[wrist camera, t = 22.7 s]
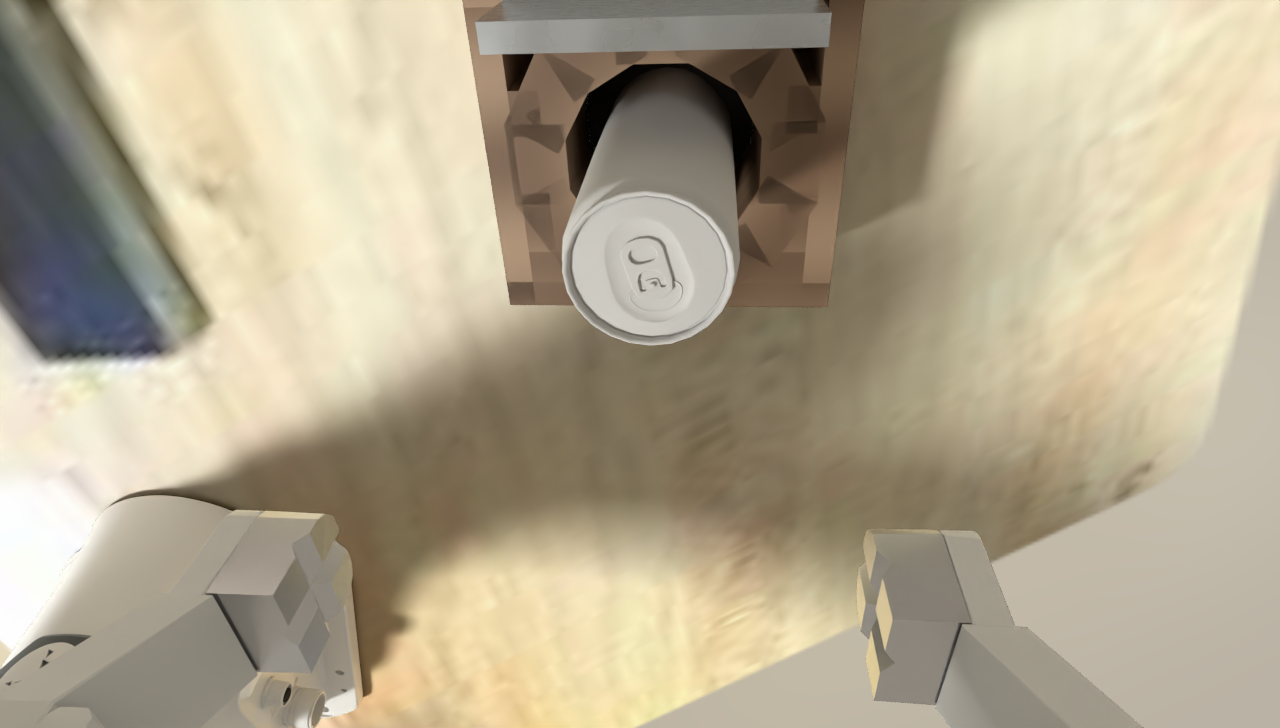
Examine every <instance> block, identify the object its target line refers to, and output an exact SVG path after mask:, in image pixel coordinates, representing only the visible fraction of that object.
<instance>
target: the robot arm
mask: <svg viewBox="0 0 1280 728" xmlns="http://www.w3.org/2000/svg"><path fill="white" fill-rule="evenodd" d="M339 531H340V529H339V527H338V525H337V523H336V521H335V518H334V516H333V515H328V514H318V513H300V512H282V511H255V510H235V511H231V510H228V509H226V508H223V507H220V506H217V505H214V504H210V503H207V502H203V501H199V500H194V499H189V498H183V497H176V496H164V495H152V496H140V497H134V498H129V499H126V500H122V501H120V502H117V503H115V504H113V505H111V506H110V507H108V508H107V509H105V510H104V511H103V512H102V513H101V514H100V515H99V516H98V517H97V519H96V520H95V522H94V524H93V526H92V528H91V531H90V533H89V535H88V537H87V539H86V541H85V543H84V545H83V546H82V548H81V550H80V551H78V552H76V553H75V554H74V555H73V556H71V558H70V559H69V560H68V562H67V563H66V564H65V566H64V567H63V569H62V570H61V572H60V577H61V579H62V580H61V582H60V583H59V585H58V586H57V588H56V589H55V590H54V592H53V593H52V595H51V596H50V598H49V599H48V600H47V602H46V603H45V605H44V606H43V607H42V609H41V610H40V612H39V613H38V615H37V616H36V617H35V619H34V620H33V622H32V623H31V625H30V626H29V627H28V629H27V630H26V632H25V633H24V635H23V636H22V637H21V639H20V640H19V642H18V643H17V645H16V646H15V648H14V649H13V650H12V652H11V653H10V655H9V657H8V658H7V659H6V661H5V662H4V664H3V665H2V667H1V669H0V728H315V727H316V726H317V724H318V723H319V721H320V719H321V718H328V717H334V716H339V715H343V714H346V713H349V712H351V711H354V710H355V709H356V708H357V707H358V705H359V703H360V702H361V700H362V698H363V689H362V679H361V670H360V660H359V651H358V642H357V632H356V623H355V614H354V604H353V595H352V586H351V583H352V577H353V570H352V561H351V558H350V555H349V553H348V550H347V549H345V548H344V547H343V546H342V545H340V544H339V543H338V542H336V541H335V539H336V537H337V535H338V533H339ZM863 550H864V555H865V560H866V562H865V563H863V564H862V565H861V566H860V567H859V570H858V577H857V592H856V602H857V612H858V619H859V625H860V630H861V632H862V633H863V634H864V635H865V636H866V637H867V638H868V639H869V644H868V649H867V654H866V663H867V668H868V673H869V678H870V683H871V688H872V693H873V698H874V701H875V700H876V701H887V702H901V703H914V704H927V705H936V710H937V711H938V712H939V713H940V715H941V716H942V717H943V718H944V720H945V721H946V722H947V723H948V725H949V726H950V727H951V728H1143V727H1142V726H1141V725H1140V724H1139V723H1138V722H1136V721H1135V720H1134V719H1133V718H1132V717H1131V716H1129V715H1128V714H1127V713H1126V712H1125V711H1124V710H1123V709H1121V708H1120V707H1119V706H1118V705H1117V704H1116V703H1114V702H1113V701H1112V700H1111V699H1110V698H1108V697H1107V696H1106V695H1105V694H1104V693H1103V692H1102V691H1100V690H1099V689H1098V688H1097V687H1096V686H1095V685H1093V684H1092V683H1091V682H1090V681H1089V680H1087V679H1086V678H1085V677H1084V676H1083V675H1082V674H1081V673H1079V672H1078V671H1077V670H1076V669H1075V668H1074V667H1072V666H1071V665H1070V664H1069V663H1068V662H1067V661H1065V660H1064V659H1063V658H1062V657H1061V656H1060V655H1058V654H1057V653H1056V652H1055V651H1054V650H1053V649H1051V648H1050V647H1049V646H1048V645H1047V644H1046V643H1044V642H1043V641H1042V640H1041V639H1039V637H1037V636H1036V635H1035V634H1034V633H1033V632H1032V631H1030V630H1029V629H1028V628H1027V627H1018V626H1015V624H1014V622H1013V619H1012V616H1011V614H1010V611H1009V609H1008V606H1007V604H1006V601H1005V599H1004V596H1003V593H1002V591H1001V588H1000V586H999V583H998V581H997V578H996V576H995V573H994V571H993V568H992V565H991V563H990V560H989V558H988V555H987V553H986V550H985V547H984V545H983V542H982V540H981V537H980V536H979V535H978V534H977V533H976V532H975V531H958V530H938V531H937V530H921V529H868V530H867V532H866V534H865V537H864V542H863Z"/></svg>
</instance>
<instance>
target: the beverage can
mask: <svg viewBox="0 0 1280 728" xmlns="http://www.w3.org/2000/svg"><path fill="white" fill-rule="evenodd" d="M562 262H563V263H562V274H563V278H564V282H565V286H566V290H567V293H568V295H569V296H570V298H571V300H572V302H573V303H574V305H575V307H576V309H577V310H578V311H579V312H580V313H581V314H582V315H583V316H584V317H585V318H586V319H587V320H588V321H589V322H590V324H591V325H593V326H595V327H596V328H598V329H599V330H601V331H602V332H604V333H606V334H607V335H609V336H611V337H614V338H617V339H619V340H622V341H625V342H628V343H633V344H641V345H650V346H651V345H662V344H672V343H675V342H678V341H681V340H684V339H687V338H690V337H692V336H693V335H695V334H697V333H698V332H700V331H701V330H703V329H705V328H706V327H708V326H709V325H710V324H711V323H712V322H713V321H714V320H715V319H716V318H717V317H718V315H719V314H720V313H721V312H722V311H723V309H724V307H725V305H726V304H727V302H728V300H729V298H730V296H731V294H732V290H733V286H734V284H735V282H736V278H737V273H738V267H739V262H740V250H739V234H738V218H737V202H736V186H735V170H734V154H733V138H732V127H731V118H730V114H729V112H728V110H727V108H726V106H725V103H724V101H723V100H722V98H721V97H720V96H719V95H718V93H717V92H716V91H715V90H714V88H713V87H712V86H711V85H709V84H708V83H707V82H706V81H705V80H704V79H702V78H701V77H700V76H698V75H696V74H694V73H692V72H690V71H688V70H686V69H680V68H672V67H665V68H658V69H652V70H649V71H647V72H645V73H643V74H641V75H639V76H636V77H635V78H634V79H633V80H632V81H631V82H630V83H628V84H627V85H626V86H625V87H624V88H623V90H622V91H621V93H620V95H619V96H618V98H617V99H616V101H615V103H614V106H613V108H612V111H611V113H610V116H609V118H608V120H607V123H606V125H605V128H604V130H603V132H602V135H601V137H600V140H599V142H598V144H597V147H596V149H595V152H594V154H593V157H592V160H591V162H590V165H589V167H588V170H587V173H586V175H585V178H584V181H583V183H582V186H581V189H580V191H579V194H578V197H577V199H576V202H575V205H574V207H573V210H572V213H571V215H570V218H569V221H568V224H567V227H566V229H565V232H564V235H563V242H562Z"/></svg>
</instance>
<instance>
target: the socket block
mask: <svg viewBox="0 0 1280 728" xmlns="http://www.w3.org/2000/svg"><path fill="white" fill-rule="evenodd" d="M462 1H463V8H464V14H465V20H466V27H467V33H468V39H469V45H470V52H471V58H472V64H473V71H474V77H475V83H476V90H477V96H478V102H479V109H480V115H481V121H482V128H483V134H484V140H485V147H486V153H487V159H488V166H489V172H490V178H491V185H492V191H493V197H494V204H495V210H496V216H497V223H498V229H499V235H500V242H501V248H502V254H503V260H504V267H505V273H506V279H507V286H508V292H509V298H510V305H574V303H573V302H572V300H571V298H570V296H569V295H568V293H567V290H566V286H565V282H564V278H563V274H562V263H563V262H562V242H563V235H564V232H565V229H566V227H567V224H568V221H569V218H570V215H571V213H572V210H573V207H574V205H575V202H576V199H577V197H578V194H579V191H580V189H581V186H582V183H583V181H584V178H585V175H586V173H587V170H588V167H589V165H590V162H591V160H592V157H593V154H594V152H595V150H594V148H593V147H592V145H591V144H590V142H589V131H590V135H591V139H592V142H593V145H594V147H595V149H596V147H597V144H598V142H599V140H600V137H601V135H602V132H603V130H604V128H605V125H606V123H607V120H608V118H609V116H610V113H611V111H612V108H613V106H614V103H615V101H616V99H617V98H618V96H619V95H620V93H621V91H622V90H623V88H624V87H625V86H626V85H627V84H628V83H630V82H631V81H632V80H633V79H634V78H635V77H636V76H639V75H641V74H643V73H645V72H647V71H649V70H652V69H658V68H665V67H672V68H680V69H686V70H688V71H690V72H692V73H694V74H696V75H698V76H700V77H701V78H702V79H704V80H705V81H706V82H707V83H708V84H709V85H711V86H712V87H713V88H714V90H715V91H716V92H717V93H718V95H719V96H720V97H721V98H722V100H723V101H724V103H725V106H726V108H727V110H728V112H729V114H730V118H731V127H732V138H733V154H734V168H735V166H736V165H737V164H738V165H737V166H736V168H735V169H734V170H735V186H736V202H737V218H738V234H739V250H740V262H739V267H738V273H737V278H736V282H735V284H734V286H733V290H732V294H731V296H730V298H729V300H728V302H727V304H726V305H725V306H741V307H828V298H829V290H830V282H831V273H832V265H833V257H834V249H835V240H836V232H837V224H838V215H839V207H840V199H841V191H842V182H843V174H844V166H845V157H846V149H847V141H848V133H849V124H850V116H851V108H852V99H853V91H854V83H855V75H856V66H857V58H858V50H859V41H860V33H861V25H862V17H863V8H864V0H824V2H825V3H826V5H827V6H828V8H829V9H830V11H831V12H832V16H831V26H830V36H829V46H828V47H812V48H806V49H795V48H766V49H721V50H675V51H630V52H584V53H539V54H493V55H480V51H479V44H478V38H477V31H476V25H475V22H476V21H477V20H478V19H479V18H481V17H482V16H483V15H485V14H486V13H487V12H488V11H490V10H491V9H492V8H493V7H495V6H496V5H497V4H499V3H500V2H501V1H502V0H462ZM591 91H592V92H591ZM589 92H591V96H590V100H589V108H588V118H587V105H586V97H587V94H588V93H589ZM753 122H754V127H753V141H752V142H751V144H750V146H749V147H748V149H747V150H746V147H747V145H748V142H749V139H750V135H751V131H752V123H753ZM588 124H589V131H588ZM745 150H746V152H745ZM744 152H745V153H744ZM743 154H744V155H743ZM742 156H743V157H742ZM740 159H741V160H740ZM738 162H739V163H738Z"/></svg>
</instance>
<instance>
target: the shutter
mask: <svg viewBox="0 0 1280 728" xmlns="http://www.w3.org/2000/svg"><path fill="white" fill-rule="evenodd" d="M831 16H832V12H831V11H830V9H829V8H828V6H827V5H826V3H825V2H824V0H502V1H501V2H500V3H499V4H497V5H496V6H495V7H493V8H492V9H491V10H490V11H488V12H487V13H486V14H485V15H483V16H482V17H481V18H479V19H478V20H477V21H476V22H475V25H476V31H477V38H478V44H479V51H480V55H493V54H539V53H584V52H630V51H675V50H721V49H766V48H812V47H828V46H829V36H830V26H831Z"/></svg>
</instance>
